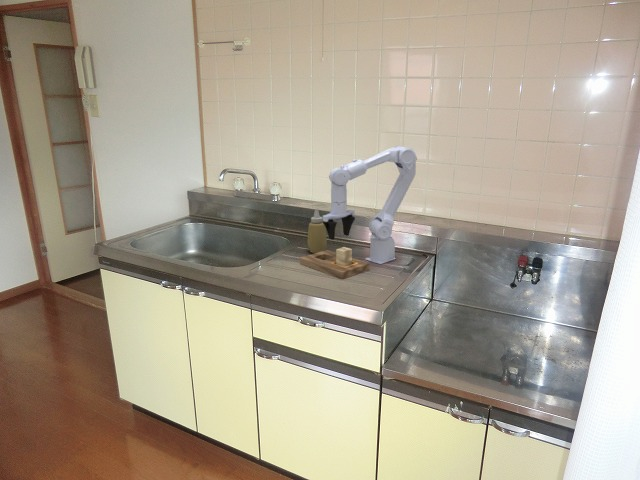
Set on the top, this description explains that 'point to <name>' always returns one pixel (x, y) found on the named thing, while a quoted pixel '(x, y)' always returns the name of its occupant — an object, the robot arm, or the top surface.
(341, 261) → the peg
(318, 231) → the squeeze bottle
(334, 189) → the robot arm
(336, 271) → the wooden peg tray
